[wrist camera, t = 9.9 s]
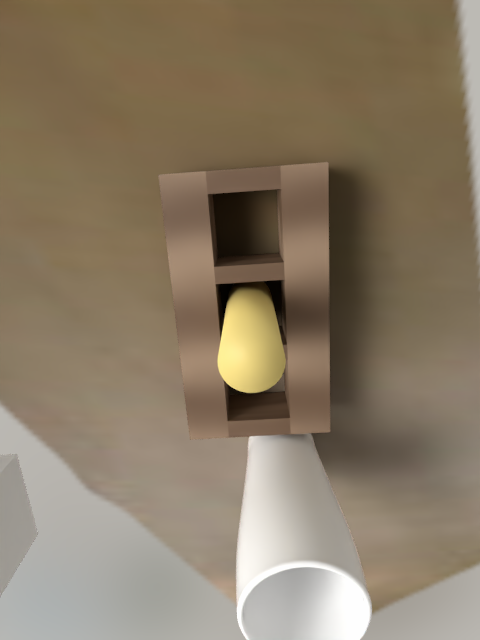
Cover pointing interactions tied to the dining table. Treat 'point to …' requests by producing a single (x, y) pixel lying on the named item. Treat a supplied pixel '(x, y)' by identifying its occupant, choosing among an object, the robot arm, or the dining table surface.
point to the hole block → (287, 266)
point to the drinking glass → (296, 549)
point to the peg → (251, 339)
